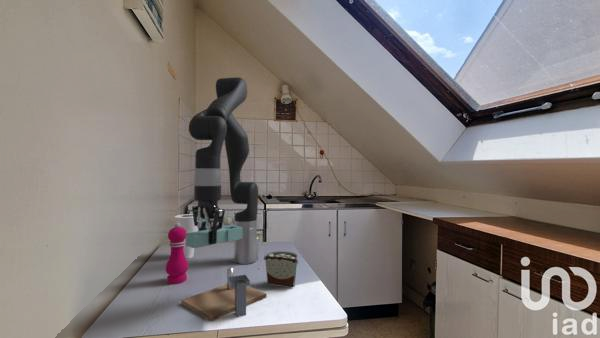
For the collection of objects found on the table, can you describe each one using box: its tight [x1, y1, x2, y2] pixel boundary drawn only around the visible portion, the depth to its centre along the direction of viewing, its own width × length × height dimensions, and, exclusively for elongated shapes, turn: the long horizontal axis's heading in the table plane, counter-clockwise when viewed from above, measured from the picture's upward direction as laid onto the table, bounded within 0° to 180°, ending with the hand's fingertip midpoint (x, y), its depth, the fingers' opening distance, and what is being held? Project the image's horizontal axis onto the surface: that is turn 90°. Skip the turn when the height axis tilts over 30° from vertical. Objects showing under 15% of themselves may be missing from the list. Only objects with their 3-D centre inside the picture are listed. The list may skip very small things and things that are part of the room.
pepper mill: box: [165, 222, 189, 285], centre depth 103 cm, size 7×7×20 cm
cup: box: [174, 213, 199, 259], centre depth 132 cm, size 11×11×18 cm
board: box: [180, 283, 267, 322], centre depth 88 cm, size 19×15×1 cm
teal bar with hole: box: [186, 224, 242, 249], centre depth 89 cm, size 16×5×4 cm, turn 139°
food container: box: [263, 250, 300, 288], centre depth 102 cm, size 12×6×10 cm, turn 71°
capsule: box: [226, 267, 234, 290], centre depth 93 cm, size 2×2×8 cm
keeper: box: [228, 274, 251, 317], centre depth 81 cm, size 6×5×8 cm
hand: (207, 242), depth 88 cm, fingers closed on teal bar with hole, 4 cm apart
